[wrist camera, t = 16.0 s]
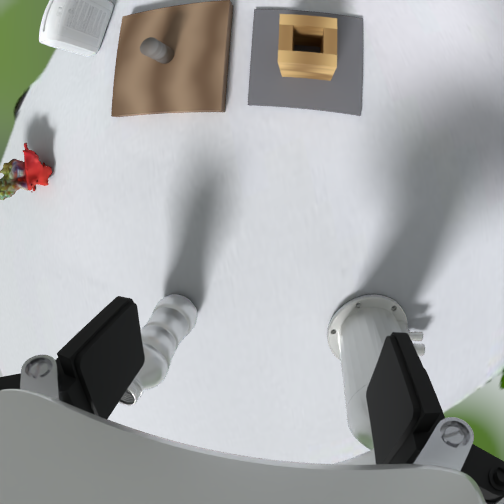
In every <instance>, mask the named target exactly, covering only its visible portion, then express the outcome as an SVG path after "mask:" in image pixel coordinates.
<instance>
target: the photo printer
mask: <svg viewBox="0 0 504 504" xmlns="http://www.w3.org/2000/svg"><path fill="white" fill-rule="evenodd" d="M113 6H114V4H113V3H112V2H110V1H108V0H50V1H49V3H48V5H47V7H46V9H45V12H44V15H43V18H42V22H41V26H40V33H39V42H40V43H42V44H46V45H48V46H51V47H55V48H59V49H62V50H66V51H69V52H73V53H76V54H80V55H83V56H86V57H90V56H93V55H95V54H96V53H97V52H98V50H99V48H100V45H101V42H102V39H103V36H104V33H105V31H106V28H107V25H108V22H109V19H110V16H111V13H112V10H113Z"/></svg>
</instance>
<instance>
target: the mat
mask: <svg viewBox="0 0 504 504" xmlns="http://www.w3.org/2000/svg"><path fill="white" fill-rule="evenodd" d="M280 14H294V15H309V16H320V17H329V18H337V68H336V70H335V72H334V74H333V77H332V79H331V81H328V80H319V79H308V78H296V77H282V75H281V72H280V68H279V65H278V44H279V21H280ZM294 51H302V52H314V53H320V47H314V46H302V45H295V48H294ZM362 78H363V18H357V17H351V16H344V15H337V14H329V13H321V12H310V11H297V10H275V9H254V21H253V35H252V49H251V64H250V79H249V94H248V105H257V106H276V107H290V108H302V109H312V110H321V111H329V112H337V113H344V114H351V115H358V116H361V103H362Z"/></svg>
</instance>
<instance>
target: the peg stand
mask: <svg viewBox="0 0 504 504" xmlns="http://www.w3.org/2000/svg"><path fill="white" fill-rule="evenodd" d="M232 14H233V5H232V3H231V1H230V0H223V1H211V2H201V3H192V4H185V5H178V6H171V7H165V8H160V9H155V10H150V11H145V12H140V13H136V14H131V15H127V16H123V18H122V24H121V30H120V36H119V43H118V50H117V58H116V66H115V76H114V86H113V99H112V116H113V117H123V116H134V115H146V114H161V113H184V112H225V103H226V88H227V74H228V60H229V48H230V36H231V25H232Z"/></svg>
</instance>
